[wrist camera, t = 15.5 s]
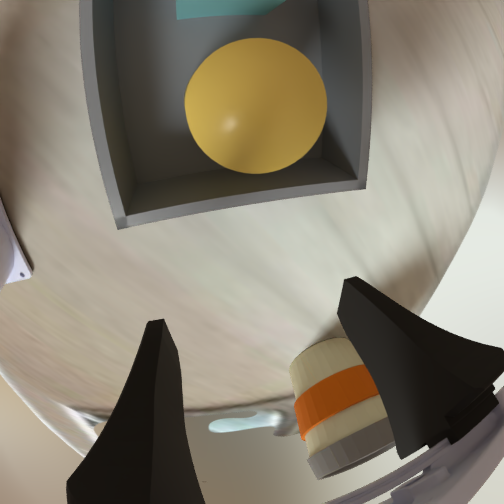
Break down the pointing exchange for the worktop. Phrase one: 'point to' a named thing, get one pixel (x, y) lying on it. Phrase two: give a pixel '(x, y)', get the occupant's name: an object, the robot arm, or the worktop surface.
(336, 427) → the reusable coffee cup
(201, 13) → the cube
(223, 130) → the cylinder
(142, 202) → the tote
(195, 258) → the worktop surface
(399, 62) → the worktop surface
